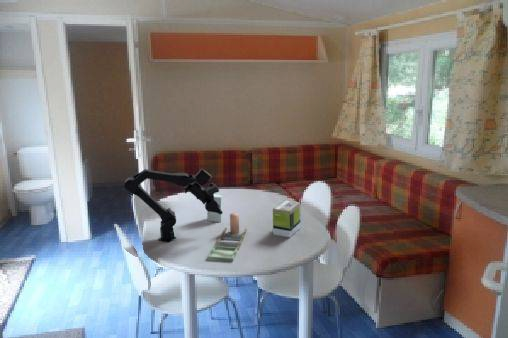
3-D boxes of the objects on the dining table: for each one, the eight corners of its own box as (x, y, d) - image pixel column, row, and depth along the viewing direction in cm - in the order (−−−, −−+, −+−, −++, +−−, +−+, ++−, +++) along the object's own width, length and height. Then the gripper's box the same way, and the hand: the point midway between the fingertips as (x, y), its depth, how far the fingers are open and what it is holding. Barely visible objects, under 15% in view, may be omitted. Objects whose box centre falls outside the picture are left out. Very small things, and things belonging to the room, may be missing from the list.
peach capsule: (228, 232, 202) (228, 215, 200) (233, 229, 206) (233, 212, 204) (236, 234, 200) (235, 216, 198) (241, 231, 204) (240, 213, 202)
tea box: (284, 224, 213) (284, 199, 209) (300, 228, 208) (301, 202, 205) (272, 234, 200) (272, 207, 197) (290, 238, 195) (290, 210, 192)
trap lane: (225, 229, 207) (225, 226, 207) (246, 230, 205) (246, 228, 205) (207, 259, 173) (207, 257, 172) (233, 261, 171) (233, 258, 171)
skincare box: (207, 221, 218) (206, 196, 215) (209, 217, 224) (208, 193, 221) (221, 221, 218) (221, 197, 214) (223, 218, 224) (222, 193, 220)
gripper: (211, 184, 185) (234, 204, 190) (207, 175, 202) (228, 193, 207) (196, 201, 185) (219, 221, 190) (192, 190, 202) (214, 208, 207)
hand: (220, 210), depth 199 cm, fingers open, 9 cm apart
